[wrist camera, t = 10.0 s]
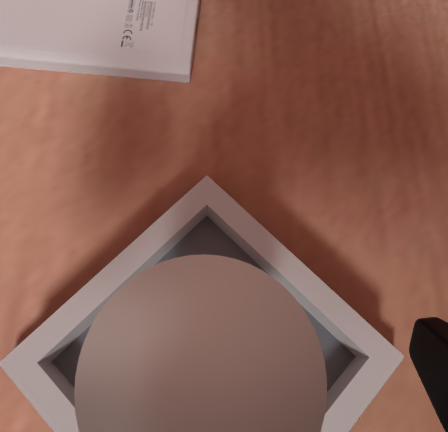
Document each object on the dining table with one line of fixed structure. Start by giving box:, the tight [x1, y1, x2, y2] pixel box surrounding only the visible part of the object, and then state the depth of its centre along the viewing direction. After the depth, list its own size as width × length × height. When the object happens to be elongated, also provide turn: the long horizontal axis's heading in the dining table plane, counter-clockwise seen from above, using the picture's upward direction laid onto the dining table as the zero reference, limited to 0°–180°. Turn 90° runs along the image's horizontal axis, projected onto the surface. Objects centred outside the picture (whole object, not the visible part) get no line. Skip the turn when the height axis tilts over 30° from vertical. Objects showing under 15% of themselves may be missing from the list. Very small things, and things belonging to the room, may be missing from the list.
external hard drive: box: [0, 0, 200, 83], centre depth 23 cm, size 2×8×12 cm
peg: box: [74, 254, 327, 432], centre depth 12 cm, size 4×4×10 cm
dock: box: [0, 175, 405, 432], centre depth 16 cm, size 12×12×2 cm
